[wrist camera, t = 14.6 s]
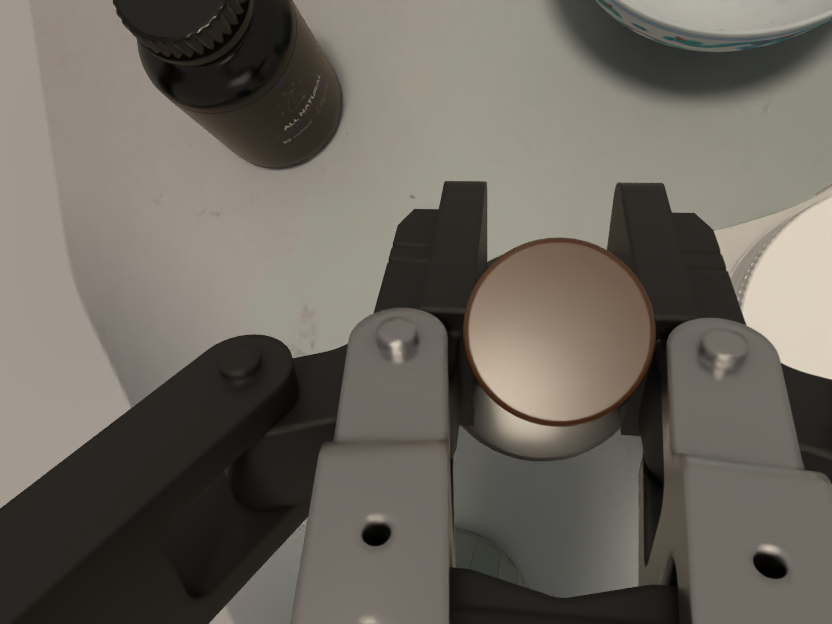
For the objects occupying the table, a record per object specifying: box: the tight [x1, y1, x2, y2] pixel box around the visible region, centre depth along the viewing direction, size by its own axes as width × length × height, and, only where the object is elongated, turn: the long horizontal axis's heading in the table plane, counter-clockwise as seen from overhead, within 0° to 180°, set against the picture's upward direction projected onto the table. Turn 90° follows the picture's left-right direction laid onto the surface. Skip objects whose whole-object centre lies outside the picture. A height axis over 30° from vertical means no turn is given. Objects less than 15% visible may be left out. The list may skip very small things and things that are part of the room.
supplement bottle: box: [113, 0, 341, 167], centre depth 31 cm, size 7×7×12 cm
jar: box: [714, 184, 832, 379], centre depth 25 cm, size 12×10×15 cm
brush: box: [461, 238, 656, 461], centre depth 14 cm, size 4×4×11 cm
